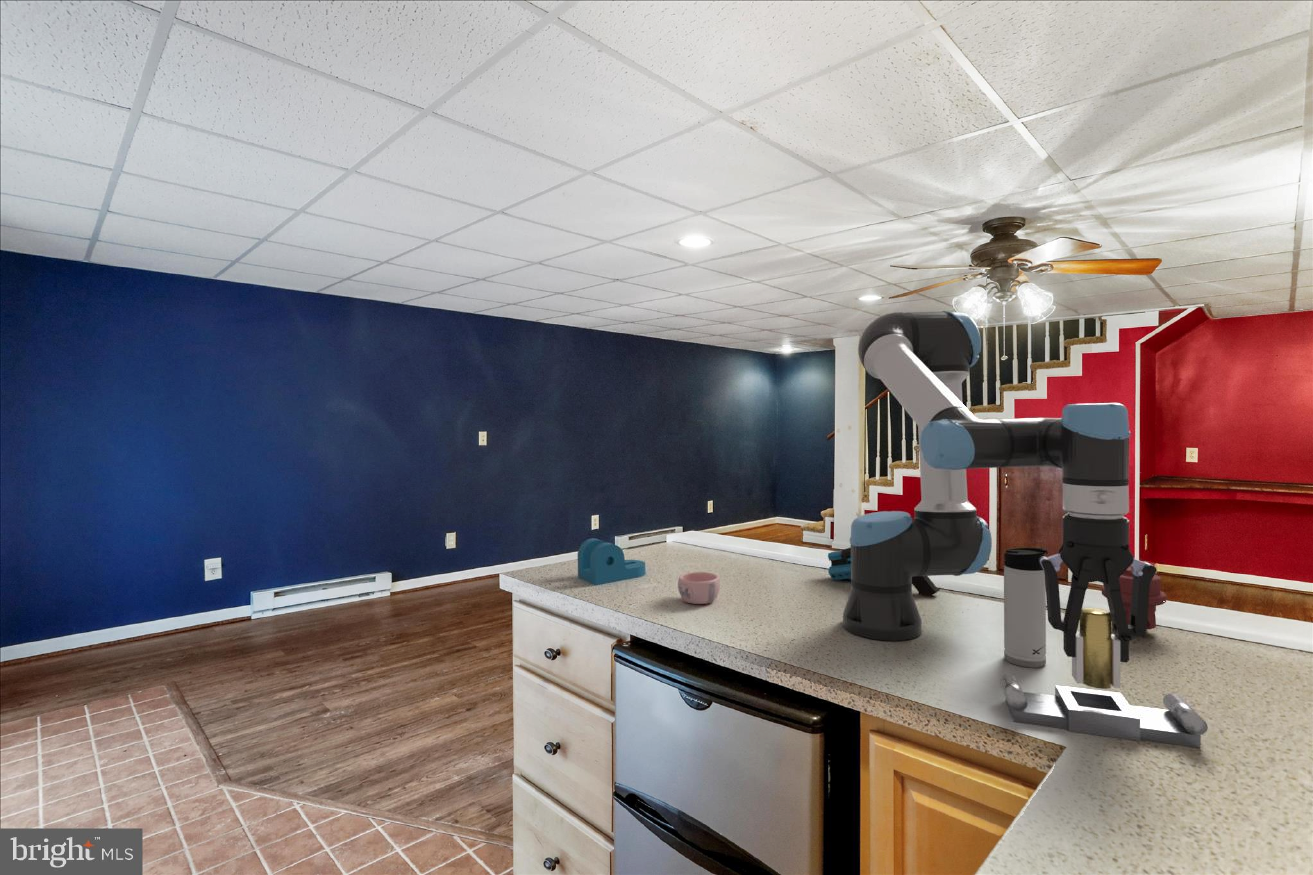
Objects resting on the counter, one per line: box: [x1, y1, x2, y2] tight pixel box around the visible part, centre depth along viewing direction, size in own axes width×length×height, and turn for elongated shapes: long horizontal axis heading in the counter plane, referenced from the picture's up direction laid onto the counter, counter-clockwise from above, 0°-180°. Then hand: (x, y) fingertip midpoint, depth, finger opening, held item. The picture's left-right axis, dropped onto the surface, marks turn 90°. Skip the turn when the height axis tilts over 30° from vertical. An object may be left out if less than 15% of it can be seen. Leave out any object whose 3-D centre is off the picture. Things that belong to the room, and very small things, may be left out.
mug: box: [677, 571, 721, 605], centre depth 148 cm, size 12×10×6 cm
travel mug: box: [1003, 547, 1049, 669], centre depth 107 cm, size 6×7×20 cm
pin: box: [1079, 607, 1113, 690], centre depth 86 cm, size 4×4×10 cm
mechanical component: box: [1101, 566, 1167, 638], centre depth 121 cm, size 12×10×10 cm
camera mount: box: [577, 538, 646, 586], centre depth 172 cm, size 18×10×10 cm, turn 123°
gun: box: [827, 546, 941, 596], centre depth 156 cm, size 8×26×15 cm, turn 44°
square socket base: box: [1000, 673, 1208, 749], centre depth 86 cm, size 22×8×4 cm, turn 68°
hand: (1095, 681), depth 86 cm, fingers closed on pin, 3 cm apart
